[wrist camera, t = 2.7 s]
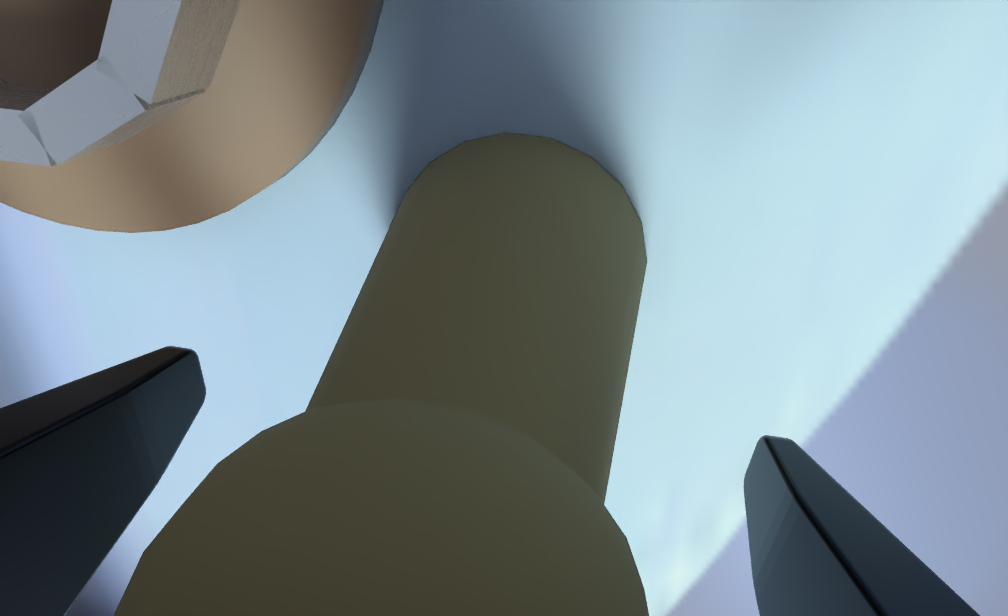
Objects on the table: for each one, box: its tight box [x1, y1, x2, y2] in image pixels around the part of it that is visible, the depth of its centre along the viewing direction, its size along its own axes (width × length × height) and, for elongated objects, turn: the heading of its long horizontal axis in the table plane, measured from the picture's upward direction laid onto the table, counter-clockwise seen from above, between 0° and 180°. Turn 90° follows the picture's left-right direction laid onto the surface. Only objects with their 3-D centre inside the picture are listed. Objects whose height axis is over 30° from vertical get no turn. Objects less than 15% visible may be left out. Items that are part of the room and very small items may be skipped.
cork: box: [114, 133, 649, 616], centre depth 9 cm, size 6×6×11 cm
